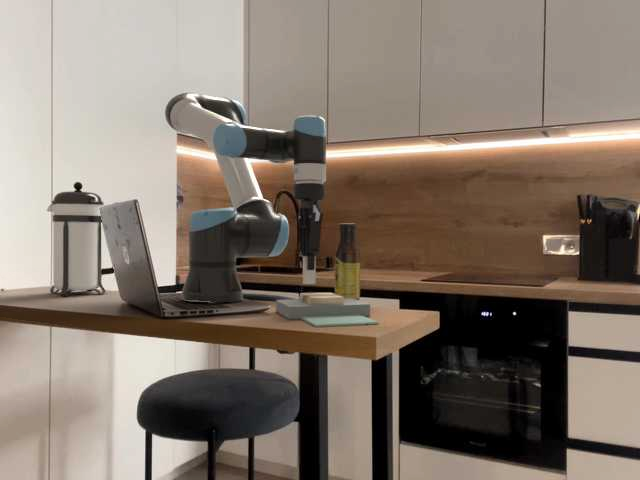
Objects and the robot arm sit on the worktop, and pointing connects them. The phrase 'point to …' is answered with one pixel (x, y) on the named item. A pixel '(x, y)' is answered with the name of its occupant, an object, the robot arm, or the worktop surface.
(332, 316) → the mat
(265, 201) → the robot arm
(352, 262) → the sauce bottle
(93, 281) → the coffee press
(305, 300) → the cream notepad
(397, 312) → the worktop surface
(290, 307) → the grey slab
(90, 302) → the worktop surface
